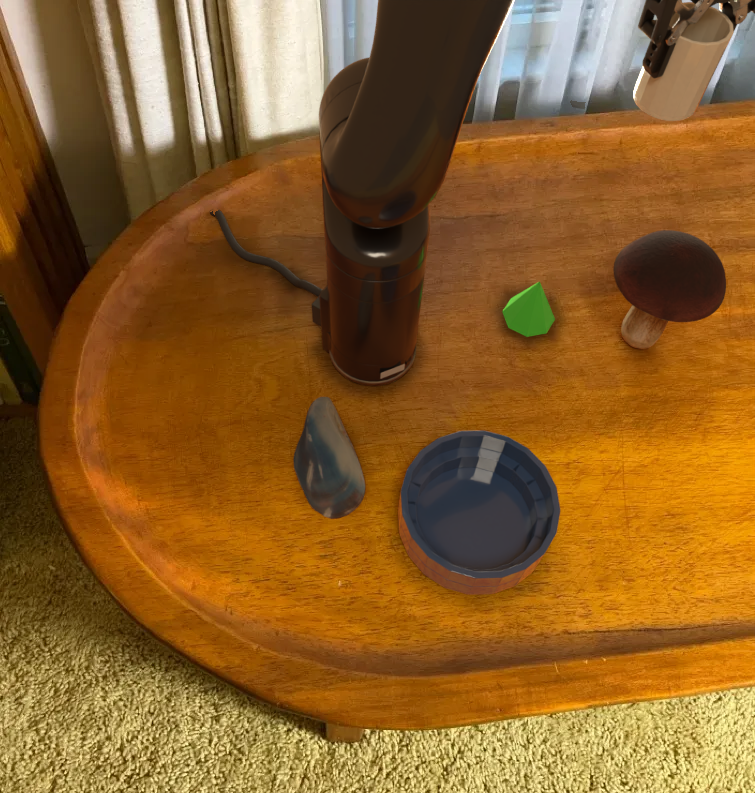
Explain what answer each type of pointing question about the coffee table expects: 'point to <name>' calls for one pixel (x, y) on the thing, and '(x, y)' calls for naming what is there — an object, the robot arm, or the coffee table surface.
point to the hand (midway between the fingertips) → (681, 63)
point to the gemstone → (529, 312)
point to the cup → (686, 68)
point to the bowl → (477, 511)
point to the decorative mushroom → (667, 283)
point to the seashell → (328, 463)
